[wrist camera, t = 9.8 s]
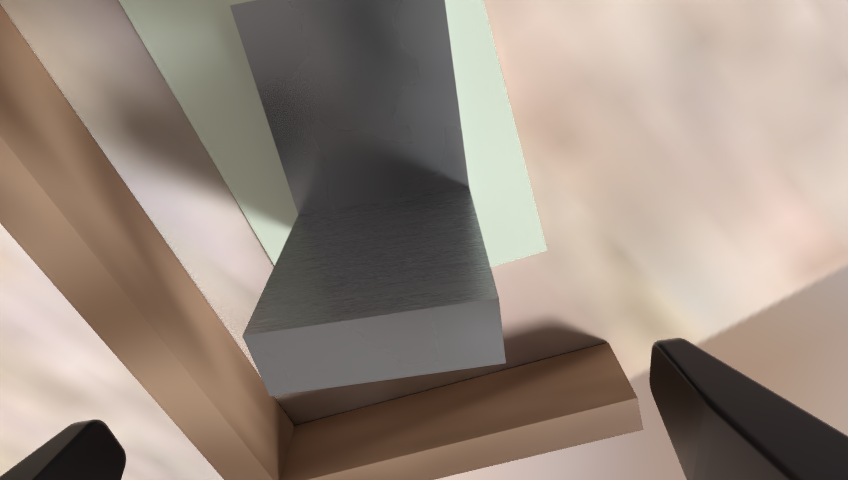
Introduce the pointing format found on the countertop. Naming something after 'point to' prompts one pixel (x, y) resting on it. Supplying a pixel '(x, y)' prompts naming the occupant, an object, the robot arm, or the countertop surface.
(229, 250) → the countertop surface
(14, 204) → the brown chevron piece
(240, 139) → the mat
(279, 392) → the bracket
